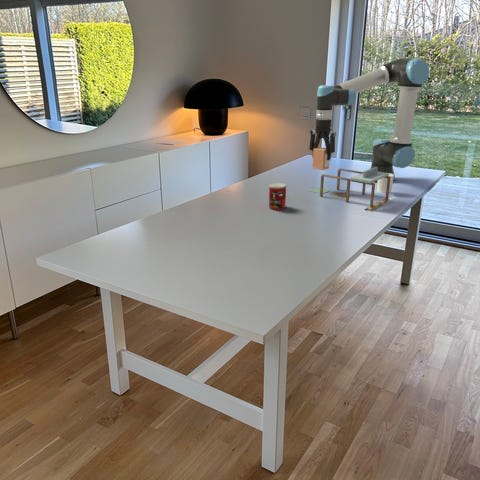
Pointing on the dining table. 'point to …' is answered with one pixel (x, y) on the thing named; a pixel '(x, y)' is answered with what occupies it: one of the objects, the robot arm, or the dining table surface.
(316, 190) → the felt pad
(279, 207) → the canned food
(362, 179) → the lid
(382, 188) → the white cup
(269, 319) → the dining table surface
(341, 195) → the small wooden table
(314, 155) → the block
